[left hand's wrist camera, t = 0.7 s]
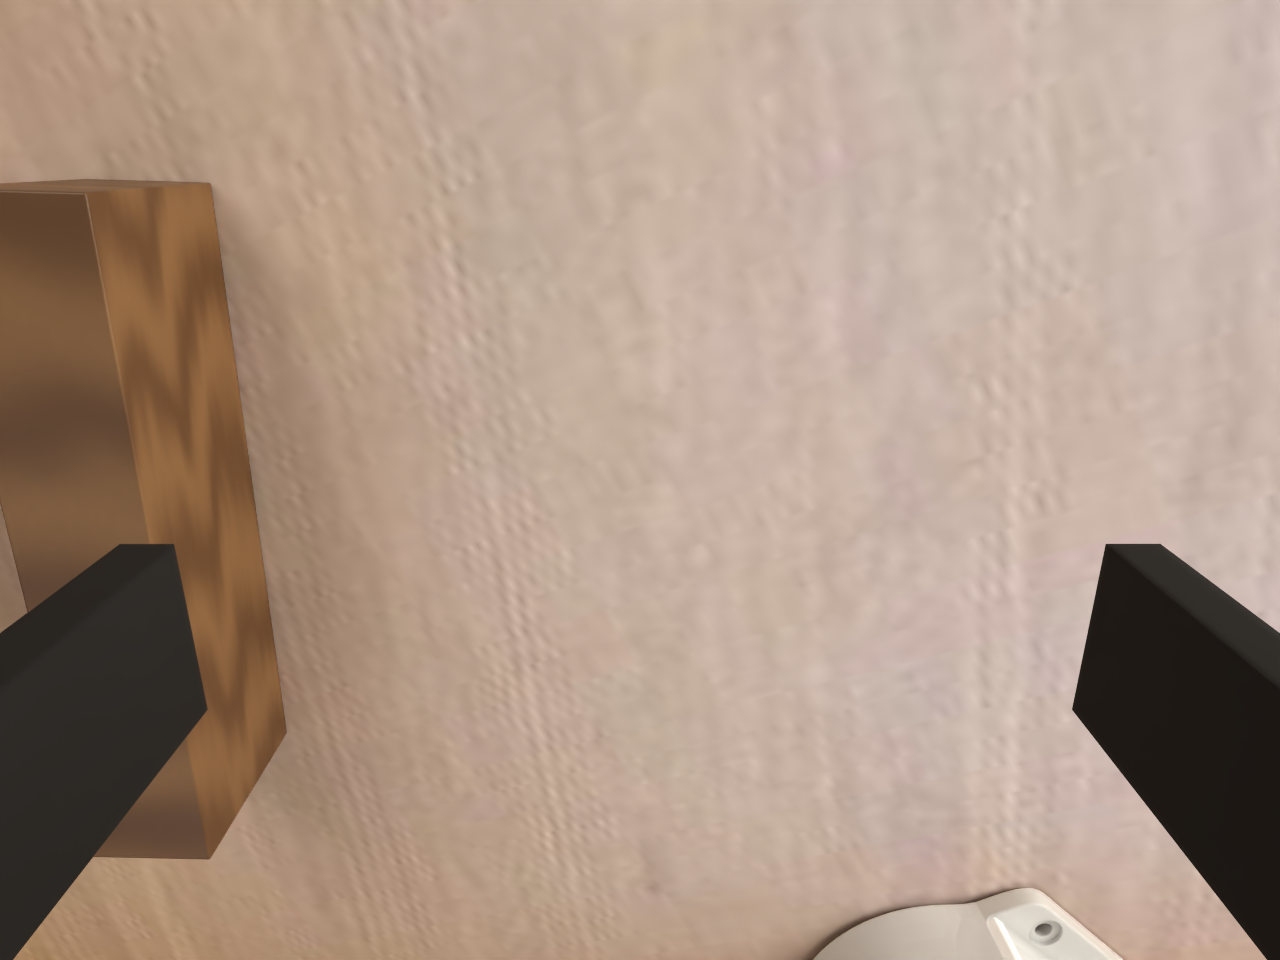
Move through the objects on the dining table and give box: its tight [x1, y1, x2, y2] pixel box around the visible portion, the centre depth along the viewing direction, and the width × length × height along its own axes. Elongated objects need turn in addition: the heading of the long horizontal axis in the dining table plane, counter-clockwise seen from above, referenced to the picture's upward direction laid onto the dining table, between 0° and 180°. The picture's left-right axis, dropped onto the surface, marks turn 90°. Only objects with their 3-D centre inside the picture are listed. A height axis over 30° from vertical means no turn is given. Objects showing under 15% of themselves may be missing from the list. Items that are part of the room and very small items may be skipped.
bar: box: [0, 179, 286, 859], centre depth 33 cm, size 25×5×8 cm, turn 178°
